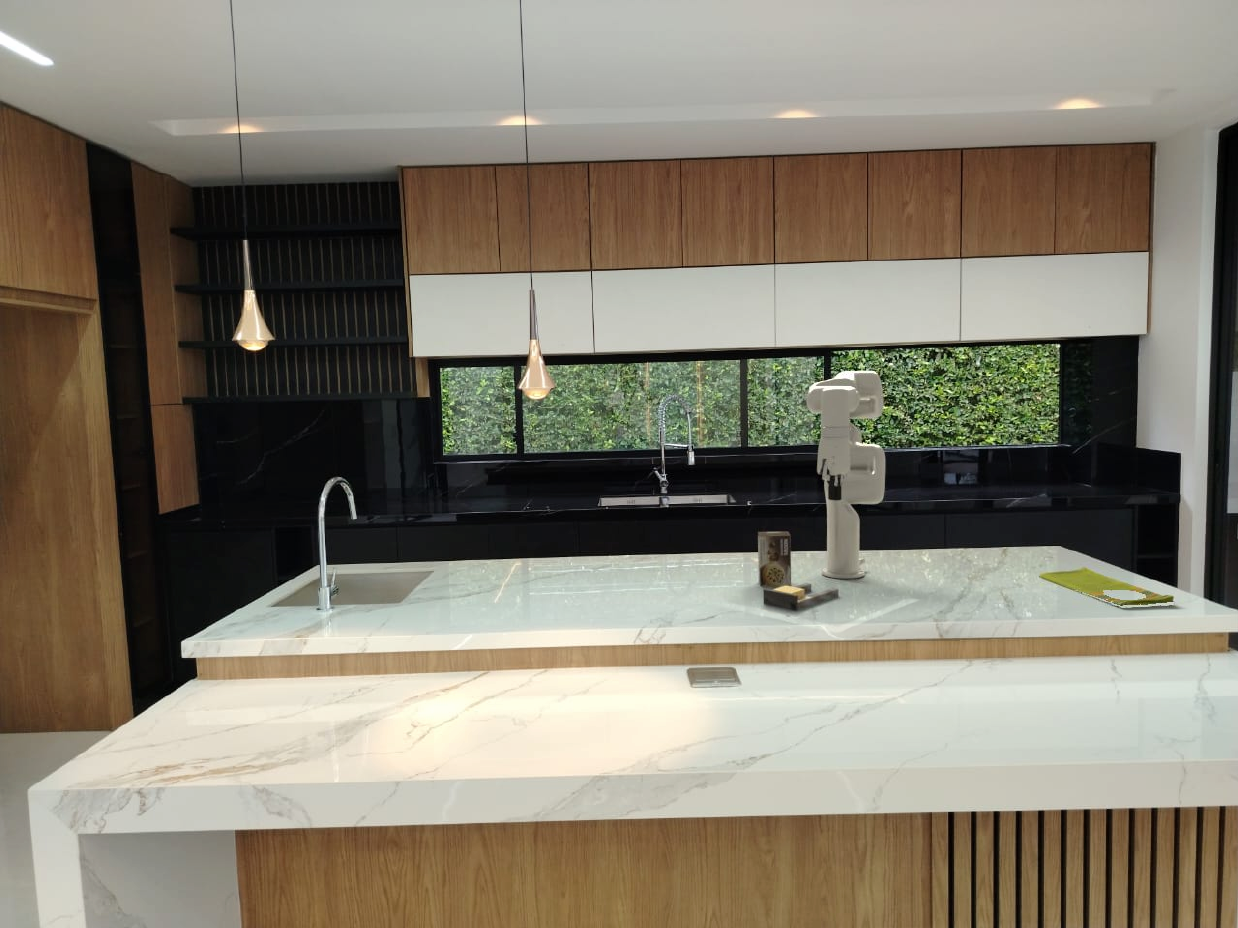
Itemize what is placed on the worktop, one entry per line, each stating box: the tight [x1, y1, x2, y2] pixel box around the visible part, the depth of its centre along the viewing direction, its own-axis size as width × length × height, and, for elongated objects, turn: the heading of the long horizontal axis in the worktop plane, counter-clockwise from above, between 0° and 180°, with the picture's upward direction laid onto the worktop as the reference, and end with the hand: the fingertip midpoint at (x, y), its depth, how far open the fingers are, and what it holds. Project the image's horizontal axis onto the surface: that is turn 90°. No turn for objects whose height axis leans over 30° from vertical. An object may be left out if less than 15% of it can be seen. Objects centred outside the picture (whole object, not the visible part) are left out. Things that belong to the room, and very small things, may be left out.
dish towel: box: [1038, 566, 1175, 606], centre depth 239 cm, size 15×36×3 cm, turn 7°
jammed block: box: [772, 585, 805, 599], centre depth 227 cm, size 6×6×4 cm
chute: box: [763, 582, 839, 612], centre depth 231 cm, size 20×14×5 cm
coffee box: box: [757, 531, 792, 587], centre depth 249 cm, size 9×6×16 cm
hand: (834, 499), depth 236 cm, fingers closed
